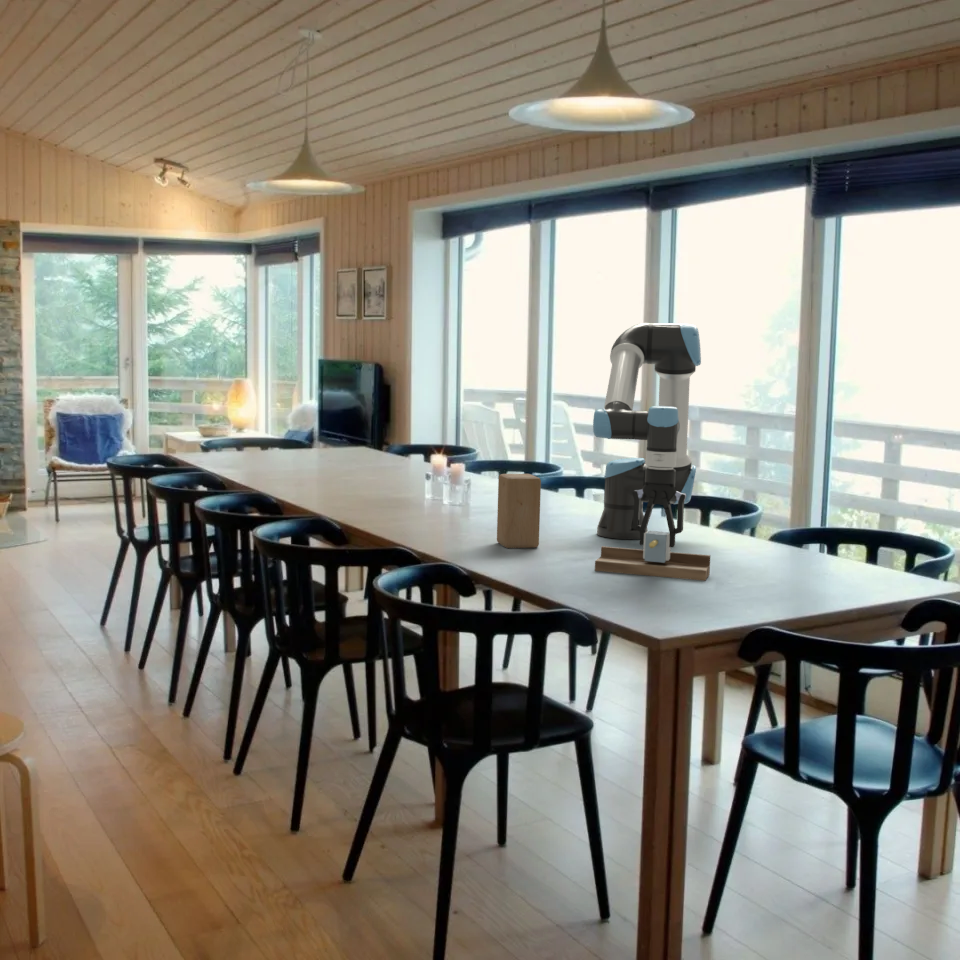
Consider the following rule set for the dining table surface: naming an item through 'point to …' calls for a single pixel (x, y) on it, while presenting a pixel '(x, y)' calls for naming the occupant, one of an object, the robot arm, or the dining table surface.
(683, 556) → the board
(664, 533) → the grey cube mallet
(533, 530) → the wooden block
